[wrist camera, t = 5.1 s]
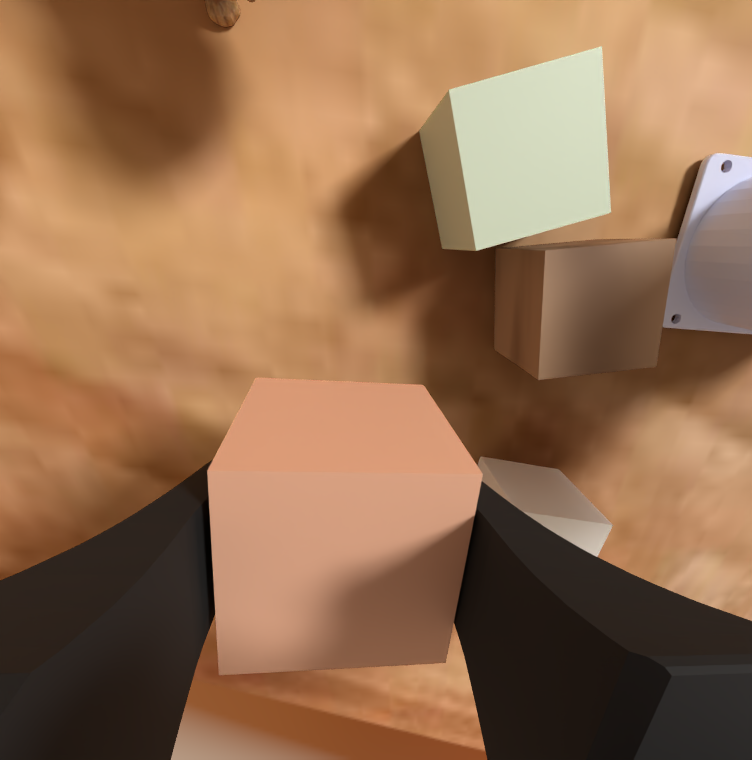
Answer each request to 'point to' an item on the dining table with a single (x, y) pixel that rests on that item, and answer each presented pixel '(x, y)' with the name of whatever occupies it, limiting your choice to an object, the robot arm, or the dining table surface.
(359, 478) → the terracotta block
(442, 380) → the dining table surface
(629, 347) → the walnut block
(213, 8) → the lion figurine
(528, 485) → the pale grey block
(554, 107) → the sage block
